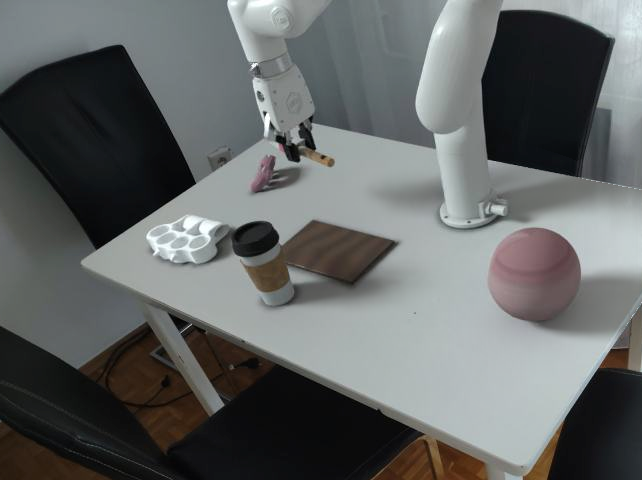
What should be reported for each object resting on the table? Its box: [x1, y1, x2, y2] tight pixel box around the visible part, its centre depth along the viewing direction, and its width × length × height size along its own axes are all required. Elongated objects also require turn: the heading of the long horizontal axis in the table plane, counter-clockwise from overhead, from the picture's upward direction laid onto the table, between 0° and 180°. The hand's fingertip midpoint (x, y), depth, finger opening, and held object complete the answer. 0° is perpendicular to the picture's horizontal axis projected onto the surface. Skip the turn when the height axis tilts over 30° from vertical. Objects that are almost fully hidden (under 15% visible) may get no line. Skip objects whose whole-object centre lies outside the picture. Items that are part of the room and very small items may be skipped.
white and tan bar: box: [267, 135, 336, 168], centre depth 129 cm, size 4×3×20 cm
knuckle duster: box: [146, 214, 230, 265], centre depth 138 cm, size 3×18×15 cm
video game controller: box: [249, 154, 277, 193], centre depth 153 cm, size 10×5×7 cm, turn 179°
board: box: [281, 219, 395, 286], centre depth 129 cm, size 22×14×1 cm, turn 57°
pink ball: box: [486, 226, 582, 322], centre depth 103 cm, size 15×15×15 cm
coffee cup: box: [230, 220, 295, 307], centre depth 116 cm, size 8×8×15 cm
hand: (302, 154), depth 129 cm, fingers closed on white and tan bar, 4 cm apart
